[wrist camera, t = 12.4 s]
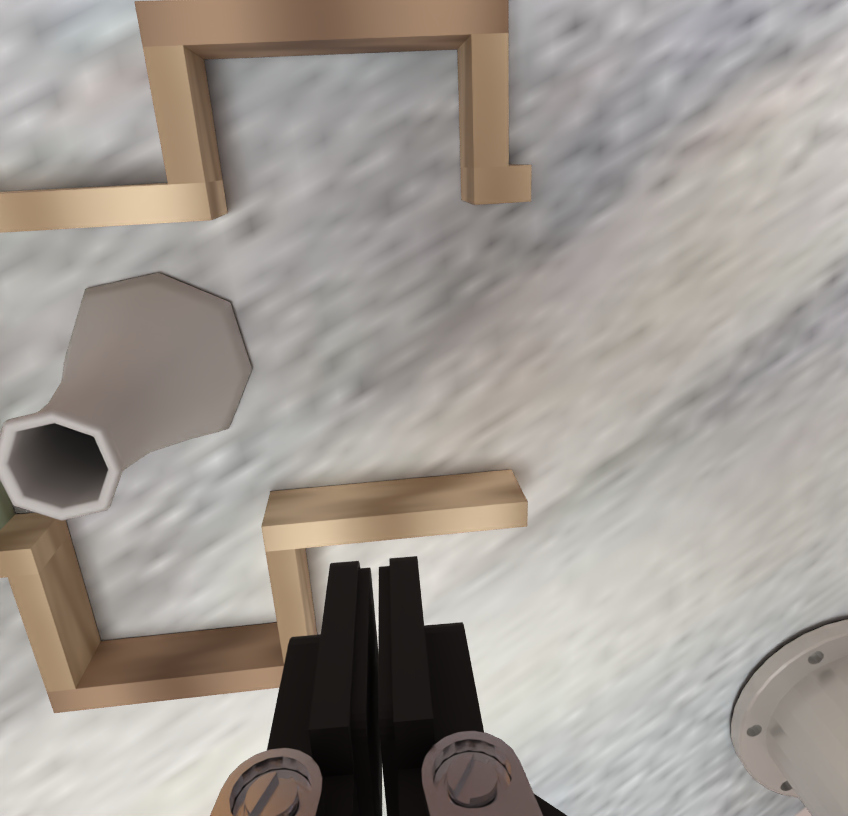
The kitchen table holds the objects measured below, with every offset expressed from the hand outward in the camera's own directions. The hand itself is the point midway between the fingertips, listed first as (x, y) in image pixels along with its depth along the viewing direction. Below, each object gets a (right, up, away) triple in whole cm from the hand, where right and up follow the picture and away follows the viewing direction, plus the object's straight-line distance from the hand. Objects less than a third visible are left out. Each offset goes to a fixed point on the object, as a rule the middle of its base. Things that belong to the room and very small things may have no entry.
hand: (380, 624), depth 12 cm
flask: (-10, +6, +14) cm, 18 cm away
